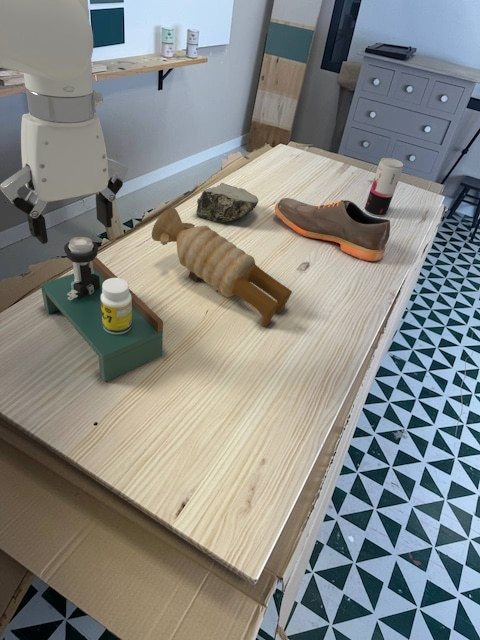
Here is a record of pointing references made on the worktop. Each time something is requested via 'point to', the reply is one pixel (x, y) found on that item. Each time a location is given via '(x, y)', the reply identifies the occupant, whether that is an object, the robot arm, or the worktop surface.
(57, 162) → the robot arm
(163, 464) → the worktop surface
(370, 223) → the oxford shoe
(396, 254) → the worktop surface
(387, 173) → the beverage can
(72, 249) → the push button
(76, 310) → the shelf
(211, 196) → the concrete fragment
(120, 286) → the supplement bottle
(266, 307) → the toy animal figurine
